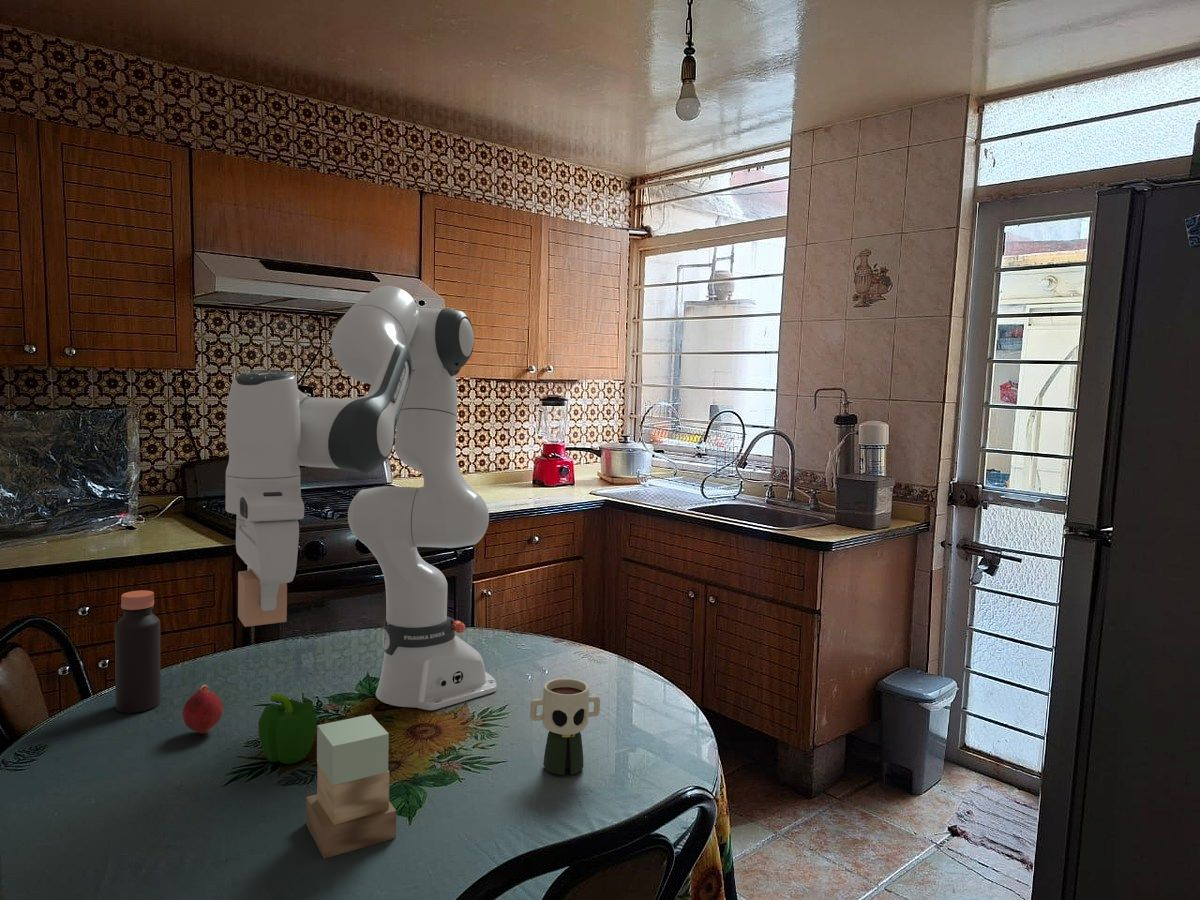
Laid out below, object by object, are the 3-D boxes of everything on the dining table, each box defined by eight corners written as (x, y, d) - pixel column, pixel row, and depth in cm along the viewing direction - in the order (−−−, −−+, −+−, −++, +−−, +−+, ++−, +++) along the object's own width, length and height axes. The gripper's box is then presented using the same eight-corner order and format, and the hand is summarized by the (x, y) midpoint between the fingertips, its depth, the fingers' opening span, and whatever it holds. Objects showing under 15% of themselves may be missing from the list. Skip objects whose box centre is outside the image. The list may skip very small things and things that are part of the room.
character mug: (532, 783, 116) (535, 697, 115) (524, 760, 123) (527, 679, 122) (603, 776, 119) (606, 693, 118) (592, 755, 126) (595, 676, 125)
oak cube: (369, 785, 107) (370, 750, 106) (388, 809, 101) (389, 771, 101) (317, 800, 102) (317, 762, 102) (333, 825, 97) (334, 785, 96)
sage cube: (370, 750, 106) (370, 714, 106) (388, 771, 100) (388, 733, 100) (316, 762, 102) (317, 725, 102) (332, 785, 96) (333, 746, 96)
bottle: (106, 709, 136) (105, 595, 134) (142, 695, 142) (141, 587, 141) (134, 716, 133) (133, 601, 132) (169, 702, 140) (169, 592, 138)
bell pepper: (327, 748, 124) (328, 687, 124) (297, 773, 116) (298, 707, 116) (280, 742, 126) (280, 681, 125) (247, 765, 118) (247, 701, 117)
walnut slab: (373, 808, 108) (374, 780, 108) (395, 840, 101) (396, 810, 101) (305, 826, 103) (306, 796, 103) (323, 861, 96) (324, 830, 96)
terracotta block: (278, 611, 106) (278, 567, 105) (286, 621, 101) (287, 576, 101) (237, 616, 103) (238, 571, 102) (244, 626, 99) (244, 579, 98)
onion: (206, 743, 125) (206, 694, 124) (174, 738, 126) (174, 690, 125) (230, 728, 130) (230, 681, 130) (199, 724, 132) (199, 677, 131)
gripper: (224, 487, 108) (223, 587, 109) (251, 510, 91) (250, 627, 92) (273, 486, 111) (272, 582, 112) (308, 507, 94) (306, 620, 95)
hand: (262, 602), depth 102 cm, fingers closed on terracotta block, 5 cm apart
